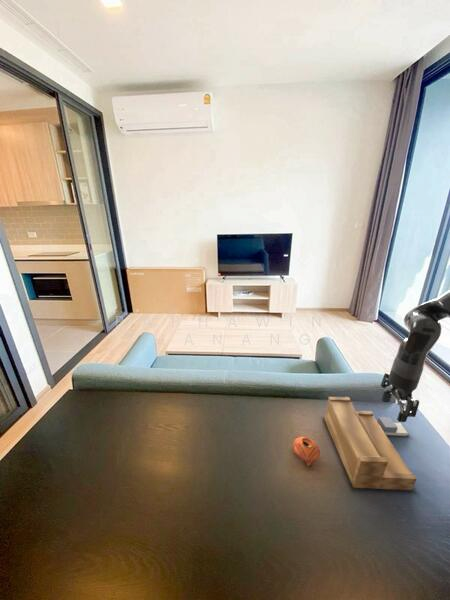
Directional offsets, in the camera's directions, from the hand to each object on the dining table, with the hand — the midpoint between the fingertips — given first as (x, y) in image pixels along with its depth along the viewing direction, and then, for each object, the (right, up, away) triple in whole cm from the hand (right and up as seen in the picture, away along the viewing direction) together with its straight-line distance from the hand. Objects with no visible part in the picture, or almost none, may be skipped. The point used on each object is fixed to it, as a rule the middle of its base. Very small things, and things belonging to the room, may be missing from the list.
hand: (392, 410), depth 82 cm
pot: (-32, -12, -6) cm, 34 cm away
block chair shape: (+2, -8, +3) cm, 9 cm away
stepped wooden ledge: (-14, -11, -4) cm, 18 cm away
